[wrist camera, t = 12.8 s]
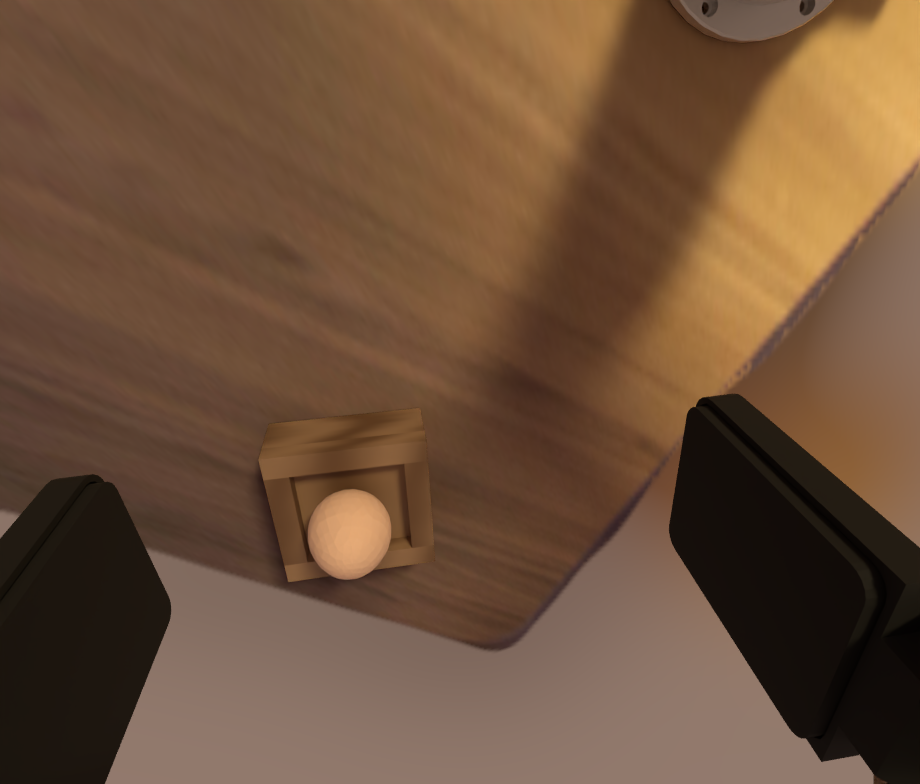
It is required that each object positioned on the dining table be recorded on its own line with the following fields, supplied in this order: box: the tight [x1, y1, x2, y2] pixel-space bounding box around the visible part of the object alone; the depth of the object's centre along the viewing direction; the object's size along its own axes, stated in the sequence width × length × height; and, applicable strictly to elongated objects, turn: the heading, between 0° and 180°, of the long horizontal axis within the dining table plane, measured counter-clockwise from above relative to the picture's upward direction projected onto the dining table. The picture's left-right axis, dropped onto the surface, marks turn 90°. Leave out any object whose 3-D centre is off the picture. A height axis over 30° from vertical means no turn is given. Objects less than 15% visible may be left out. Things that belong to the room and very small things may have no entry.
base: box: [258, 408, 435, 582], centre depth 37 cm, size 10×10×4 cm
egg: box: [308, 489, 391, 580], centre depth 34 cm, size 5×5×6 cm
